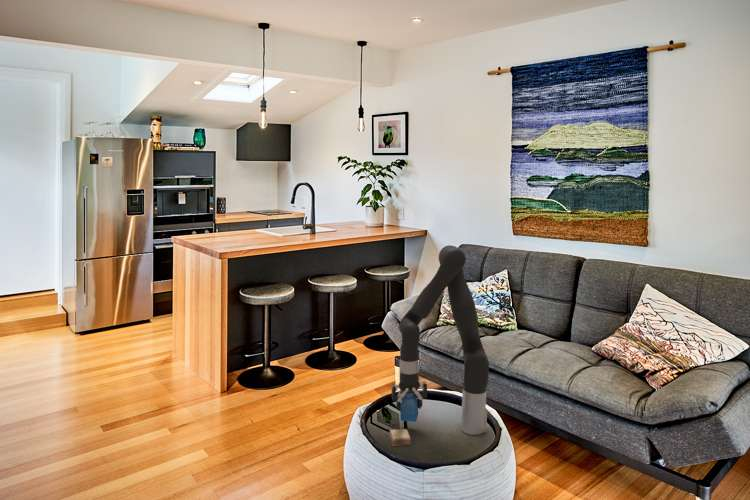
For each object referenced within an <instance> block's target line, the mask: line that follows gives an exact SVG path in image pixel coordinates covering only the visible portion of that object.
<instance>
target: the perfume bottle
mask: <svg viewBox="0 0 750 500" xmlns="http://www.w3.org/2000/svg"><path fill="white" fill-rule="evenodd" d="M412 391H413V390H408V392H407V393H406V395H405V396H404V397H403V398H402V399H401V405H400V411H399V412H400V421H401V422H411V423H412V422H413V423H417V421H418V417H419V408H418V397H417V395H416V394H414V395H413V393H412Z"/></svg>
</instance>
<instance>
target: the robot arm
mask: <svg viewBox="0 0 750 500" xmlns="http://www.w3.org/2000/svg"><path fill="white" fill-rule="evenodd" d="M466 261H467V258H466V254H465V253H464V251H463V250H462V249H460V248H459V247H457V246H454V245H445V246H444V247H442V248H441V250H440V251H439V253H438V262H439V264H440V265H439V267H438V269H437V271H436V273H435V275H434V276H433V277H432V279H431V280H430V281H429V283H428V284H427V285H426V286H425V287H424V288H423V290H422V291H420V293H419V295H418V296H417V298H416V300H414V303H413V305H412V307H411V308H410V309H409V310H408V311H407V312H406V313H405V315H403V317H402V318H401V319H400V322H399V325H398V329H399V332H400V334H401V345H400V347H399V355H400V358H399V383H398V384H394V383H392V384H391V399H392V401H393V402H396V405H395V406H396V409H397V410H398V411H399V412H400V405H401V402H402V399H403V397H404V396H405V395H406V393H407V392H408V390H413V391H412V393H413V395H415V396H416V397H417V399H418V410H421V409H422V407H423V400H424V399H427V398H428V384H427V382H426V381H422V382H420V363H419V362H420V361H419V344H420V340H421V339H420V338H421V329H420V327H419V325H420V323H421V322H422V321H423V320H426V319H427V318H428V317H429V316H430V313H431V312H432V311H433V309H434V307H435V305H436V303H437V302H438V301H439V298H441V296H442V294H443V293H444V292H445V291H446V289H447V295H448V300H449V305H450V309H451V313H452V318H453V320H454V321H453V322H454V324H455V327H456V330H457V332H458V334H459V338H460V339H461V346H462V355H463V364H464V371H463V372H464V373H463V381H462V395H461V397H462V399H461V422H460V430H461V431H462V432H463V433H465V434H466V435H471V436H479V435H482V434H484V433H487V424H488V423H487V422H488V421H487V419H488V409H487V408H486V404H487V390H488V389H487V388H488V384H489V371H490V364H489V358H488V355H487V354H486V351H485V348H484V346H483V342H482V339H481V337H480V333H479V318H478V312H477V309H476V302H475V300H474V297H473V294H472V293H471V289H470V287H469V285H468V283H467V281H466V278H465V273H464V267H465V264H466ZM420 388H421V389H422V393H420V392H419V389H420ZM398 389H399V392H398V394H397V392H396V391H398ZM396 394H397V395H396Z"/></svg>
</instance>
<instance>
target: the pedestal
mask: <svg viewBox="0 0 750 500" xmlns="http://www.w3.org/2000/svg"><path fill="white" fill-rule="evenodd" d="M388 436H389V440H390V443H391V445H392V447H402V446H403V447H405V446H411V445H412V439H411V436H410V434H409V432H408V429H407V428H403V429H401V428H400V429H390V430H389V434H388Z"/></svg>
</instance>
